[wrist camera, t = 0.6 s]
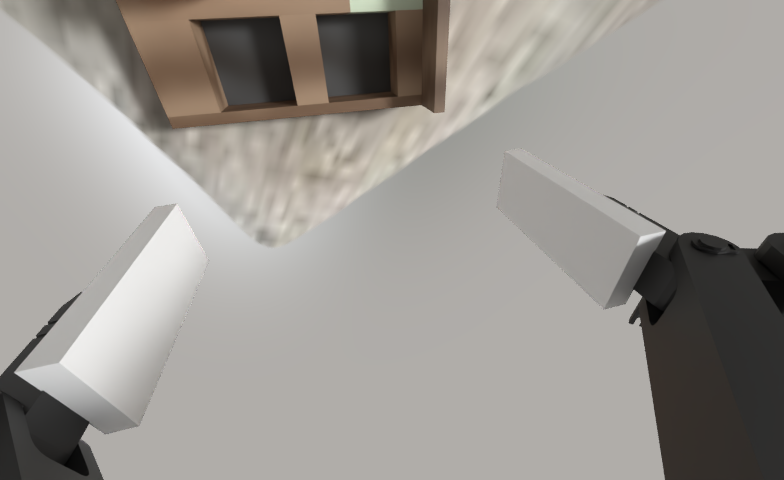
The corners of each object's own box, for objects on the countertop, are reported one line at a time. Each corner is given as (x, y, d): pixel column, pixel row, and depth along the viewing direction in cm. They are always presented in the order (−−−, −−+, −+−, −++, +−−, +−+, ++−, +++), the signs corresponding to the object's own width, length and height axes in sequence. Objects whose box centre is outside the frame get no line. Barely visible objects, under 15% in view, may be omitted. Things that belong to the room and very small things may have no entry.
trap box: (87, -123, 22) (-6, -188, 15) (421, -115, 26) (458, -164, 19) (186, 118, 31) (155, 141, 25) (419, 97, 35) (444, 112, 29)
